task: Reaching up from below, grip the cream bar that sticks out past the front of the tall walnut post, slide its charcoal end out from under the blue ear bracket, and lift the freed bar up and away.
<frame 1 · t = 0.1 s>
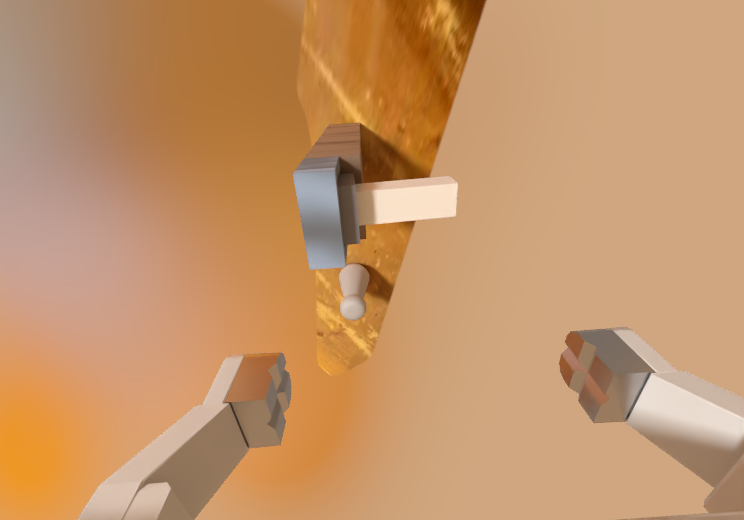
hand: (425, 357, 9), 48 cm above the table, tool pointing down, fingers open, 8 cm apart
cream bar: (382, 197, 30), point 26 cm above the table, touching post
salt shaker: (354, 271, 64), on the table
post: (347, 150, 53), on the table
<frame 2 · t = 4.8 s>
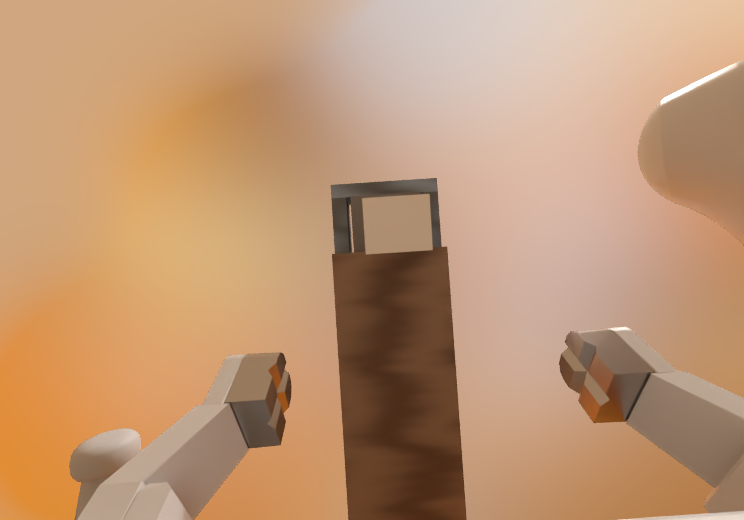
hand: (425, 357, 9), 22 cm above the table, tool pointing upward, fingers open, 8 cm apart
cream bar: (391, 250, 21), point 26 cm above the table, touching post
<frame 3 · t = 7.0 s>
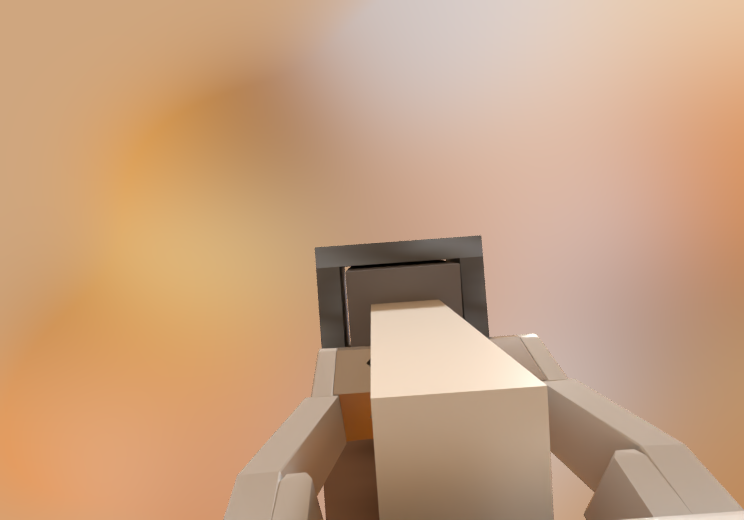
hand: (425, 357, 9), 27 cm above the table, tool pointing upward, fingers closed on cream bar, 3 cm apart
cream bar: (416, 381, 12), point 26 cm above the table, touching gripper, post
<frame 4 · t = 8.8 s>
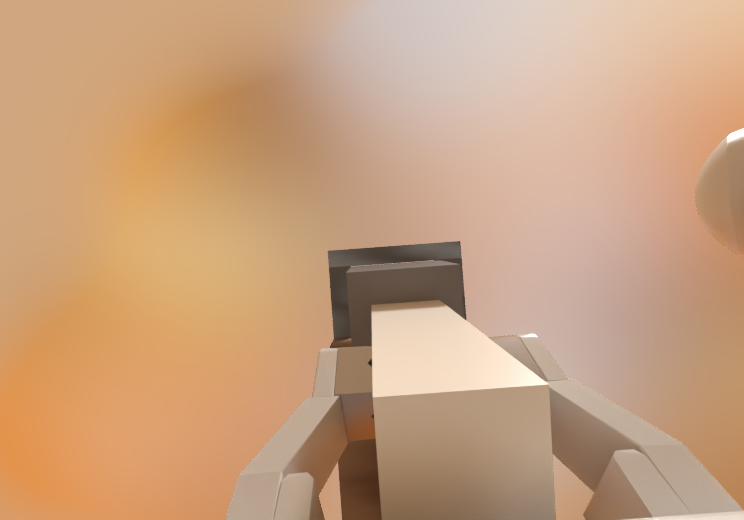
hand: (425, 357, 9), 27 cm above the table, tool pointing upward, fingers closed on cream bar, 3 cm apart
cream bar: (417, 382, 12), point 26 cm above the table, touching gripper
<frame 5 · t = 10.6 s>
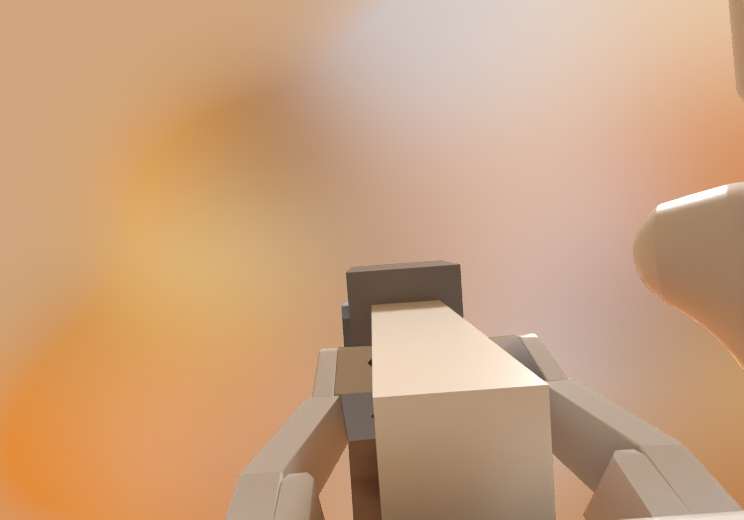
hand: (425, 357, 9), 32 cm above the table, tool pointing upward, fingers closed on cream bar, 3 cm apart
cream bar: (417, 382, 12), point 30 cm above the table, touching gripper
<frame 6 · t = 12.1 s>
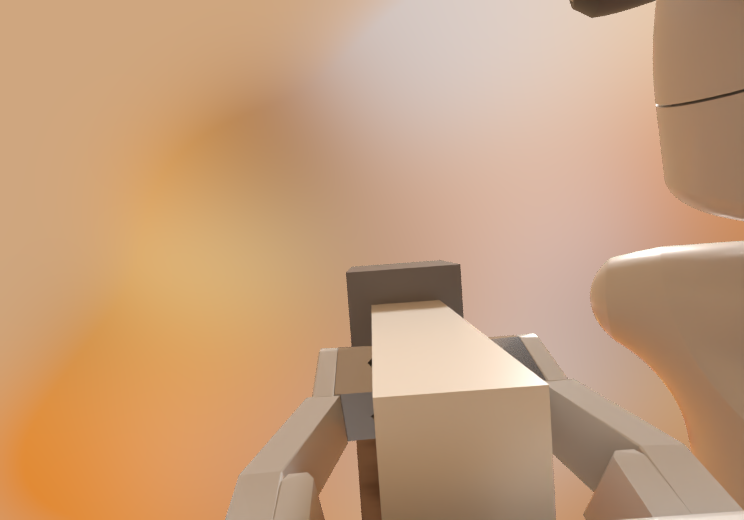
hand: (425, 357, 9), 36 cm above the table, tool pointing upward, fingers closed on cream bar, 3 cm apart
cream bar: (417, 382, 12), point 35 cm above the table, touching gripper
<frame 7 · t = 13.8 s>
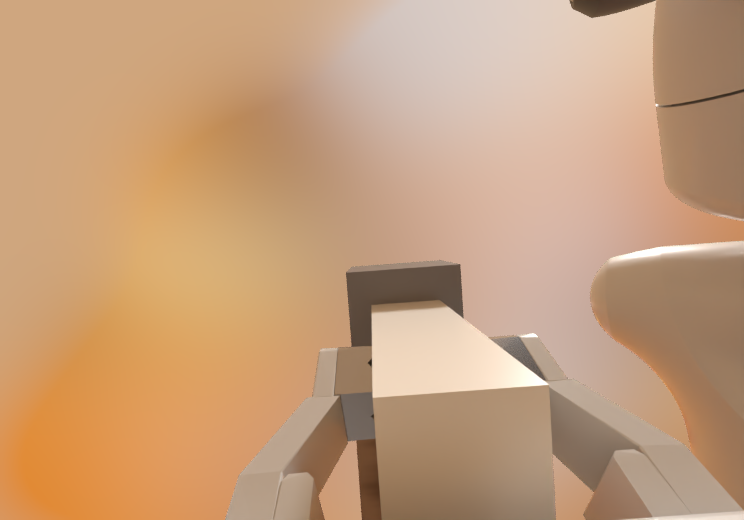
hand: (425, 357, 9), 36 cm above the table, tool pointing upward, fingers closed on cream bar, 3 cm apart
cream bar: (417, 382, 12), point 35 cm above the table, touching gripper
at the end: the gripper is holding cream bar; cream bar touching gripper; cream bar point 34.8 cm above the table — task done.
